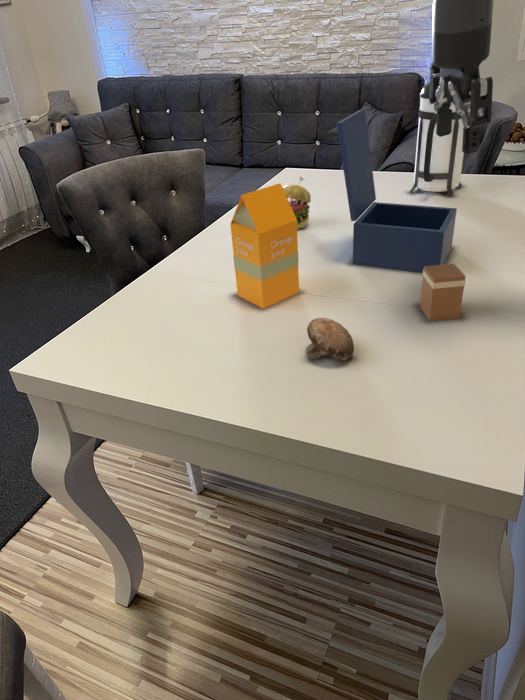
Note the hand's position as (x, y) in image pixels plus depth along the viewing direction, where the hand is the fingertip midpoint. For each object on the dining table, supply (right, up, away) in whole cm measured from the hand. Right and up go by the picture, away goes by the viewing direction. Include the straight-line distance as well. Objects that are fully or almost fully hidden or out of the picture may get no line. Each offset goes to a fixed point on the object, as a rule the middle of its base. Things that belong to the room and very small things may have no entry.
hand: (456, 143), depth 81 cm
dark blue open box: (-1, -13, +29) cm, 31 cm away
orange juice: (-28, -22, +18) cm, 40 cm away
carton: (0, -26, +8) cm, 27 cm away
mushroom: (-19, -33, 0) cm, 38 cm away
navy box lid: (-10, +5, +22) cm, 25 cm away
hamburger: (-21, -2, +48) cm, 53 cm away
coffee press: (+18, +11, +64) cm, 67 cm away
